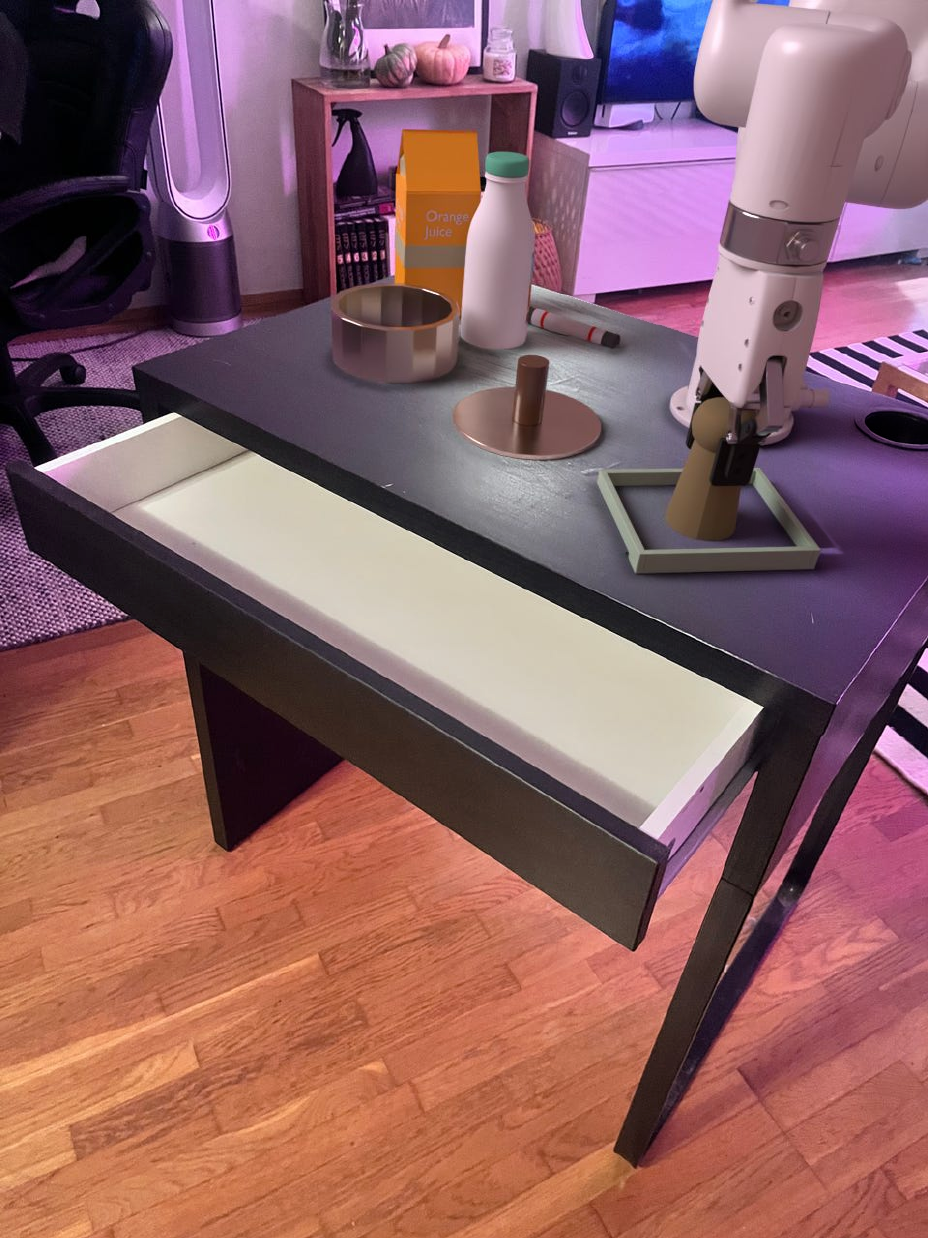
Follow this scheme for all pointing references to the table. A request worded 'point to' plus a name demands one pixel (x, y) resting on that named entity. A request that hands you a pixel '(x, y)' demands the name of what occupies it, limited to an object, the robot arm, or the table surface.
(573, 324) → the marker
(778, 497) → the grey rectangular frame
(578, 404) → the pan lid
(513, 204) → the milk bottle
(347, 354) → the pan
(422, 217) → the orange juice
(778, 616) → the table surface
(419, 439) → the table surface
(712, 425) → the brown chess pawn
